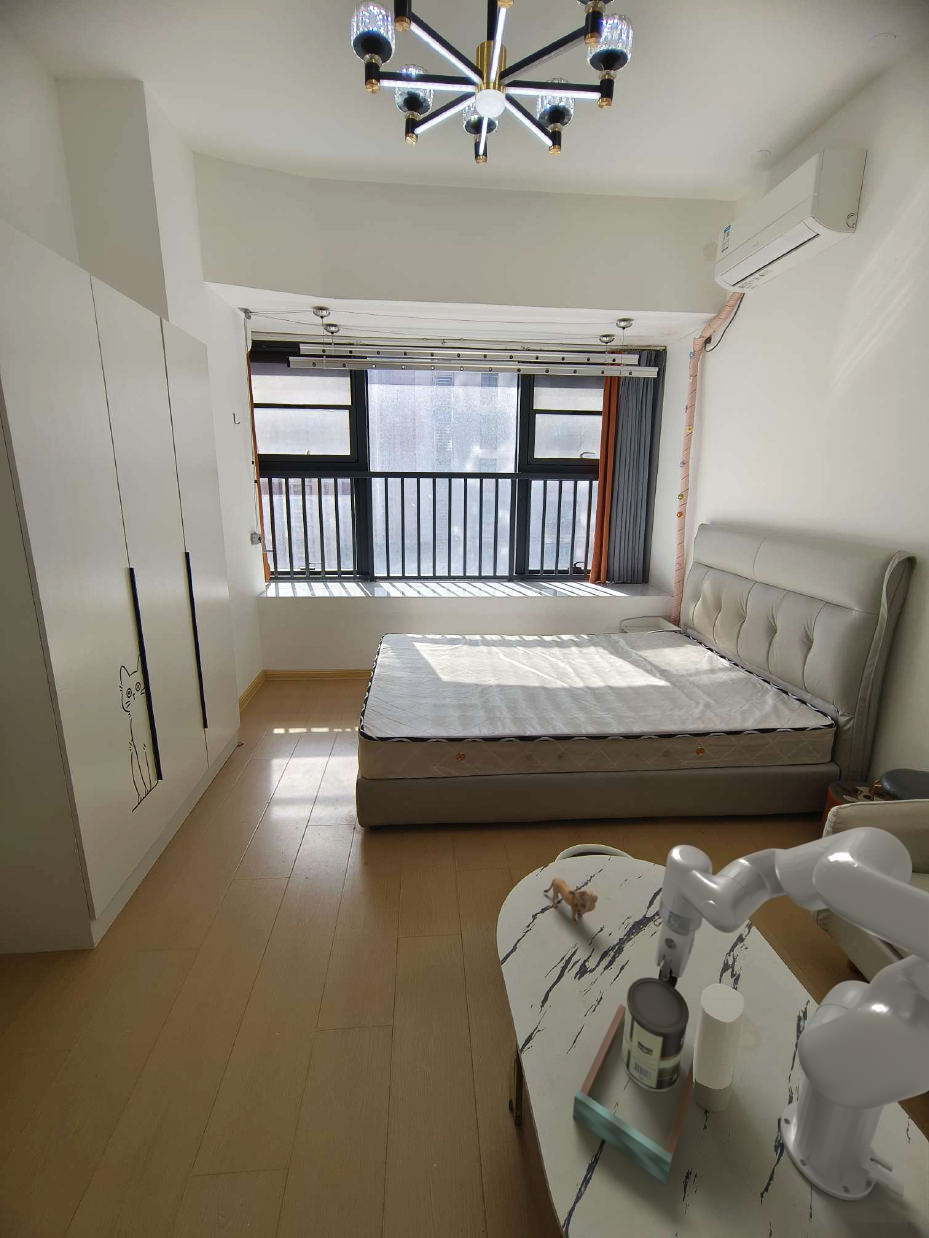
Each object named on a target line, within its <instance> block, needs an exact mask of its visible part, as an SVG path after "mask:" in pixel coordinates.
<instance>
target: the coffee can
mask: <svg viewBox="0 0 929 1238" xmlns="http://www.w3.org/2000/svg"><path fill="white" fill-rule="evenodd" d="M689 1018H690V1011H689V1007H688V1003H687V1002H686V1000H685V997H683V995H682V994H681V993H680V991H678V989H677V988H676V987H675V988H674V987H673V986H671V985H670V984H668V983H667V982H665V981H663V980H660V979H658V978H656V977H651V976H650V977H647V976H646V977H641V978H638V979H636V980H634V981H633V982H632V983H631V984H630V986H629V987H628V989H627V993H626V1011H625V1019H624V1028H623V1029H624V1030H623V1037H622V1046H621V1052H620V1053H621V1054H620V1056H621V1061H622V1065H623V1067H624V1069H625V1071H626V1072H627V1073H626V1074H628V1076H629V1078H631V1080H633V1082H634V1083H636V1084H637V1085H638V1086H640V1087H641V1088H643V1089H645V1090H647V1091H650V1092H654V1093H666V1092H668V1091H670V1090H672V1089H673V1088H674V1087H675V1086H676V1085H677V1084H678V1082H679V1079H680V1074H681V1073H680V1072H681V1064H682V1058H683V1051H684V1043H685V1039H686V1032H687V1026H688V1023H689Z"/></svg>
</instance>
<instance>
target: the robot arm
mask: <svg viewBox="0 0 929 1238" xmlns="http://www.w3.org/2000/svg"><path fill="white" fill-rule="evenodd" d="M912 865H913V863H912V859H911V856H910V853H909V851H908V849H907V847H906V846H905V845H904V844H903V843H902V842H901V840H900V839H899V838H897V837H896V836H895V835H893V834H892V833H890V832H889V831H887V830H884V829H882V828H878V827H874V826H861V827H860V826H858V827H855V828H852V829H851V828H850V829H847V830H844V831H841V832H837V833H833V834H831V835H828V836H825V837H821V838H819V839H816V840H813V841H811V842H810V841H809V842H807V843H804V844H800V845H797V846H795V847H791V848H787V849H783V848H766V849H762V850H759V851H757V852H756V851H755V852H753V853H751V854H747V855H745V856H742V857H739V858H737V859H734V860H733V861H732V862H730V863H729V864H727V865H726V866H725V867H723V868H722V869H721V870H720V871H719V872H717V873H716V874H715V875H713V864H712V861H711V859H710V858H709V856H708V854H706V853H705V852H704V851H702V850H701V849H700V848H698V847H695V846H693V845H689V844H679V845H676V846H673V847H672V848H671V849H670V850H669V852H668V855H667V859H666V864H665V869H664V870H665V871H664V874H663V875H664V876H663V882H662V888H661V893H660V894H661V895H660V899H659V905H658V913H659V916H660V918H661V920H662V921H661V926H660V927H661V928H660V932H659V937H658V943H657V949H656V953H655V954H656V955H655V966H656V967H659V973H658V978H657V979H660V980H663V981H665V982H667V983H668V984H670V985H671V986H673V987H674V988H675V989H676V987H677V984H678V979H680V978H682V977H683V975H684V973H685V971H686V967H687V965H688V962H689V960H690V957H691V954H692V950H693V947H694V945H695V944H694V942H695V937H696V936H695V935H696V932H697V931H698V930H700V928H701V927H702V923H703V919H704V921H706V922H707V923H708V924H709V925H710V926H712V927H713V928H714V929H716V930H717V931H718V932H722V933H724V934H731V933H735V932H736V931H737V930H739V929H740V928H741V927H742V926H743V925H744V924H745V922H747V921H748V920H749V918H751V916H753V914H754V913H755V912H756V911H757V910H758V909H759V908H760V907H761V906H762V905H764V903H766V902H767V901H770V900H772V899H773V898H774V899H775V898H778V897H782V896H786V895H787V896H788V898H789V899H790V901H792V902H793V903H794V904H796V905H797V906H799V907H800V908H802V909H804V910H807V911H819V910H824V909H829V910H830V911H831V912H832V913H834V914H835V915H837V916H838V917H839V918H841V919H842V920H844V921H846V922H848V923H850V924H851V925H853V926H854V927H857V928H859V929H860V930H863V931H864V932H867V933H868V934H871V935H873V936H874V937H876V938H879V939H880V940H882V941H885V942H887V943H889V944H891V945H893V946H896V947H898V948H900V949H901V950H903V951H905V952H907V953H910V954H911V955H909V956H907V957H905V958H903V959H900V960H898V961H896V962H894V963H892V964H889V965H886V966H884V968H882V969H881V970H879V971H878V972H877V973H876V975H875V976H874V977H873V978H872V980H871V981H870V982H869V983H867V982H864V981H860V980H846V981H842V982H840V983H837V984H836V985H835V986H834V987H832V988H831V989H830V990H829V992H828V993H826V995H825V997H824V998H823V999H822V1000H821V1002H820V1003H819V1005H818V1007H817V1008H816V1010H815V1012H814V1014H813V1015H812V1017H810V1019H809V1021H808V1022H807V1024H806V1025H805V1027H804V1028H803V1030H802V1032H801V1033H800V1036H799V1038H798V1041H797V1057H798V1061H799V1065H800V1066H801V1070H802V1072H803V1074H804V1077H803V1082H802V1085H801V1088H800V1091H799V1097H798V1100H797V1101H794V1102H791V1103H790V1104H788V1105H787V1106H786V1107H785V1108H784V1110H783V1112H782V1114H781V1118H780V1123H779V1125H780V1135H781V1140H782V1144H783V1145H784V1148H785V1150H786V1151H787V1155H789V1158H790V1159H791V1161H792V1162H793V1163H794V1165H795V1166H796V1168H797V1169H798V1170H799V1171H800V1173H801V1174H802V1175H804V1177H805V1178H806V1179H808V1180H809V1181H810V1182H811V1183H812V1184H813V1185H815V1186H816V1187H817V1188H818V1189H820V1190H821V1191H823V1192H825V1193H826V1194H828V1195H831V1196H832V1197H835V1198H836V1199H840V1200H845V1201H850V1202H851V1201H859V1200H862V1199H865V1198H866V1197H867V1196H868V1195H869V1194H870V1193H871V1191H872V1189H873V1187H874V1185H876V1183H877V1184H879V1185H881V1186H882V1187H884V1188H886V1190H888V1191H889V1192H891V1193H893V1194H895V1195H896V1196H898V1197H899V1198H900V1199H902V1198H903V1197H904V1194H905V1193H904V1191H905V1184H904V1182H903V1181H902V1180H900V1179H899V1178H897V1177H895V1176H894V1175H892V1174H890V1173H888V1172H891V1173H892V1172H893V1167H894V1164H893V1163H894V1162H893V1161H892V1160H890V1159H889V1158H887V1157H886V1156H883V1155H881V1154H879V1153H878V1152H876V1151H875V1149H874V1148H873V1147H872V1146H871V1145H872V1143H873V1140H874V1137H875V1134H876V1130H877V1126H878V1124H879V1121H880V1118H881V1114H882V1112H883V1109H884V1107H885V1106H887V1105H890V1104H894V1103H897V1102H901V1101H904V1100H908V1099H910V1098H914V1097H917V1096H919V1095H923V1094H925V1093H927V1092H928V1091H929V892H928V891H926V890H922V889H920V888H918V887H916V886H914V885H910V884H909V882H910V880H911V877H912V873H913V872H912V871H913V866H912ZM878 1165H880V1166H881V1168H883V1169H885V1170H886V1171H888V1172H886V1171H883V1169H880V1168H879V1166H878Z"/></svg>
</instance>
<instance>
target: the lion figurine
mask: <svg viewBox="0 0 929 1238" xmlns="http://www.w3.org/2000/svg"><path fill="white" fill-rule="evenodd" d="M551 889H552V892H553V895H552V897H551V898H552V907H553V908H554V909H556V908H558V907H559V905H558V904H557V901H556V899H557V897H558V895H559V894H560V896H561V899H562V900H563V902H564V903H565V904H567V906H569V907H570V909H571V910H570V911H571V923H572V924H574V925H576V924H577V923H578V920H577V916H578V917H579V918H581V917H583V915H585V914H586V913H590V912H593V911H594V910H595V909H596V903H597V902H598V899H599V896H598V895H597V894H594V892H593V891H592V890H590V889H589V888H585V889H583V890H573V889H572V888H571V887H569V885H568V884H567V883H566V881H565V880H564V879H563V878H562V877H554V878H553V879H552V881H551V883H550V886H549V888H547V889H545V890H543V893H545V894H548V893H549V892H550V891H551Z"/></svg>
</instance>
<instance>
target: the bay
mask: <svg viewBox="0 0 929 1238" xmlns="http://www.w3.org/2000/svg"><path fill="white" fill-rule="evenodd" d="M626 1008H627V1006H624V1005H623V1004H622V1003H620V1004H619V1005H618V1006H617V1010H616V1012H615V1014H614V1016H613V1018H612V1020H611V1022H610V1025H609V1027H608V1029H607V1032H606V1033H605V1035H604V1038H603V1040H602V1042H601V1044H600V1046H599V1049H598V1051H597V1053H596V1055H595V1057H594V1059H593V1061H592V1063H591V1066H590V1068H589V1070H588V1072H587V1075H586V1076H585V1078H584V1081H583V1084H582V1085H581V1087H580V1089H578V1088H577V1090H576V1091H575V1094H574V1097H573V1098H574V1099H573V1110H572V1117H573V1118H574V1119H576V1120H577V1121H578V1122H580V1123H581V1124H583V1126H586V1127H587V1128H588V1129H589V1130H590V1131H592V1132H593V1133H594V1134H596V1135H598V1137H600V1138H602V1139H603V1140H604V1141H606V1142H607V1143H608V1144H610V1145H611V1147H612V1146H613V1148H615V1149H617V1150H618V1151H619V1152H620V1153H622V1154H624V1156H626V1157H628V1158H629V1159H630V1160H632V1161H633V1162H634V1163H636V1164H637V1165H638V1166H639V1167H641V1168H642V1169H643V1170H645V1171H647V1172H648V1173H649V1174H651V1175H652V1176H653V1177H655V1178H656V1179H657V1180H659V1181H660V1182H662V1184H664V1185H667V1184H668V1181H669V1178H670V1174H671V1170H672V1166H673V1163H674V1159H675V1156H676V1152H677V1150H678V1146H679V1142H680V1138H681V1134H682V1131H683V1128H684V1127H683V1126H684V1124H685V1120H686V1117H687V1113H688V1110H689V1105H690V1103H691V1100H692V1095H693V1093H692V1092H694V1089H693V1085H694V1082H693V1058H692V1059H691V1063H690V1066H689V1070H688V1072H687V1076H686V1079H685V1082H684V1085H683V1089H682V1092H681V1096H680V1099H679V1103H678V1105H677V1106H678V1107H677V1110H676V1114H675V1116H674V1119H673V1122H672V1126H671V1129H670V1132H669V1133H670V1134H669V1137H668V1139H667V1142H666V1146H665V1149H664V1148H663V1147H662V1146H660V1145H659V1144H657V1143H655V1142H654V1141H653V1140H651V1139H650V1138H649V1137H647V1136H645V1134H643V1133H641V1132H640V1131H638V1130H637V1129H635V1128H634V1127H633V1126H631V1125H630V1124H629V1123H628V1122H625V1121H624V1120H623V1119H621V1118H620V1117H618V1116H617V1115H616V1114H614V1113H612V1112H611V1111H610V1110H609V1109H607V1108H606V1107H604V1106H603V1105H601V1104H600V1103H598V1102H597V1101H595V1100H594V1099H593V1098H592V1097H591V1096H592V1094H593V1091H594V1089H595V1088H596V1084H598V1083H597V1082H598V1081H599V1078H600V1076H601V1073H602V1071H603V1069H604V1067H605V1064H606V1062H607V1060H608V1058H609V1055H610V1053H611V1051H612V1048H613V1046H614V1044H615V1041H616V1039H617V1037H618V1036H619V1035H618V1034H619V1032H620V1030H621V1027H622V1026H623V1023H624V1022H625V1018H626Z"/></svg>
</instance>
